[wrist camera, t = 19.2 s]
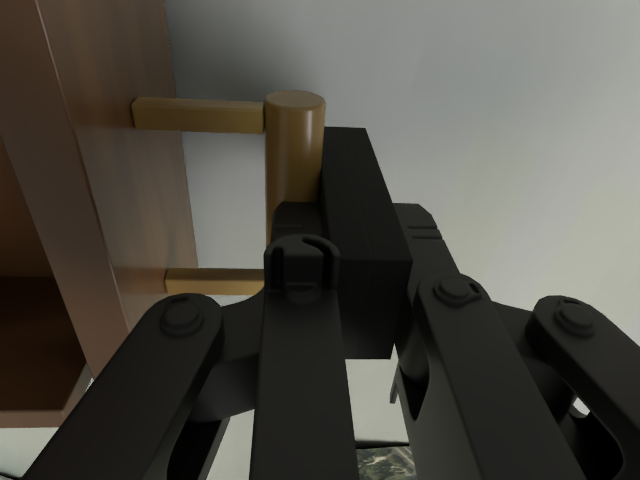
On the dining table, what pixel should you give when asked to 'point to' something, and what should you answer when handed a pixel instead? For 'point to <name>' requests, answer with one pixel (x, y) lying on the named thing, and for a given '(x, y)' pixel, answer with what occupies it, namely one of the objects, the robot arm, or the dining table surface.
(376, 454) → the eiffel tower figurine
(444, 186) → the dining table surface
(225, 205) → the dining table surface
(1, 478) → the tea box
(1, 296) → the drawer
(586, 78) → the dining table surface
